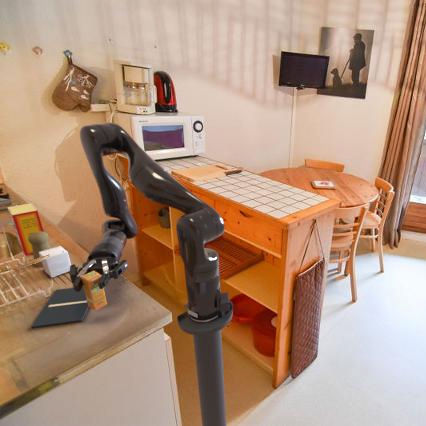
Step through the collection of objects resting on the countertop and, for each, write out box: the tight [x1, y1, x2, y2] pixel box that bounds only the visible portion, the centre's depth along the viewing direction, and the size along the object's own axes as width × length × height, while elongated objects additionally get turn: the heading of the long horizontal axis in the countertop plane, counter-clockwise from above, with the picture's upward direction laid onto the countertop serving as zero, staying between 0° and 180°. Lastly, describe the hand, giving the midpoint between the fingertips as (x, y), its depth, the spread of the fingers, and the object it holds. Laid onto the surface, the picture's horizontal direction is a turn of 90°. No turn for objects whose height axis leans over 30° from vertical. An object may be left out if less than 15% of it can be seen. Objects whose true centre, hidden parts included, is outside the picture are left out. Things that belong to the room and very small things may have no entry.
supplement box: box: [81, 271, 108, 312], centre depth 83 cm, size 3×3×10 cm
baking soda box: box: [6, 202, 45, 257], centre depth 113 cm, size 10×6×16 cm
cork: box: [28, 231, 52, 267], centre depth 107 cm, size 6×6×11 cm
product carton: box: [39, 245, 72, 278], centre depth 104 cm, size 6×6×7 cm
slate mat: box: [31, 287, 90, 329], centre depth 91 cm, size 11×16×1 cm
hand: (89, 287), depth 80 cm, fingers closed on supplement box, 4 cm apart
